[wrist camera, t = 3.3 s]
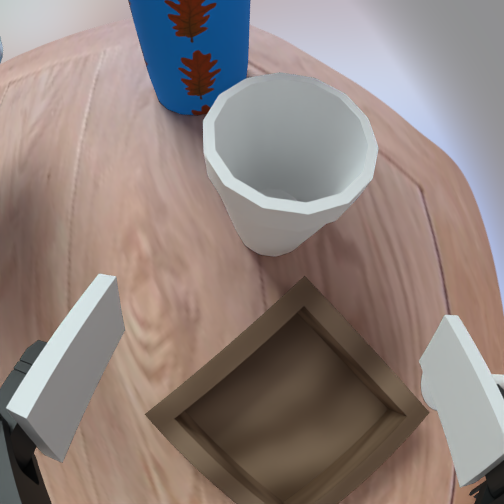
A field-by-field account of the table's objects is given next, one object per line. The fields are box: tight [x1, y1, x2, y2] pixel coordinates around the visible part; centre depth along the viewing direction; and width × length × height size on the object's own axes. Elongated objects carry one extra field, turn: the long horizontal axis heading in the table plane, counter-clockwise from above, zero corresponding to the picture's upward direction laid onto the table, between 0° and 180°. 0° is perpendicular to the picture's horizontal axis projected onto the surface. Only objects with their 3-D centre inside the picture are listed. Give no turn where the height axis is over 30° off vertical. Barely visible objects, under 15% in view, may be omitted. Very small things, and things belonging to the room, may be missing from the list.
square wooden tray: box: [145, 276, 429, 504], centre depth 22 cm, size 15×15×4 cm
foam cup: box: [203, 72, 378, 257], centre depth 22 cm, size 10×9×13 cm
